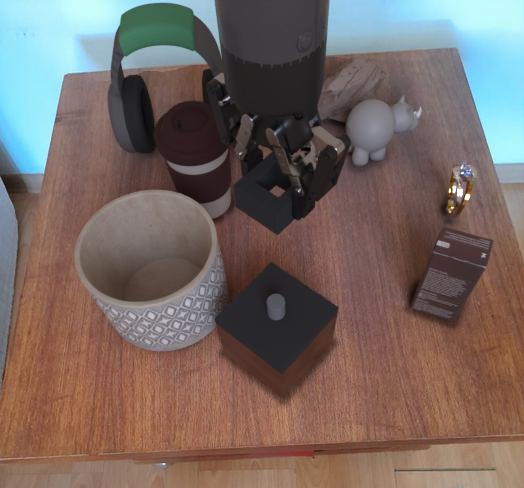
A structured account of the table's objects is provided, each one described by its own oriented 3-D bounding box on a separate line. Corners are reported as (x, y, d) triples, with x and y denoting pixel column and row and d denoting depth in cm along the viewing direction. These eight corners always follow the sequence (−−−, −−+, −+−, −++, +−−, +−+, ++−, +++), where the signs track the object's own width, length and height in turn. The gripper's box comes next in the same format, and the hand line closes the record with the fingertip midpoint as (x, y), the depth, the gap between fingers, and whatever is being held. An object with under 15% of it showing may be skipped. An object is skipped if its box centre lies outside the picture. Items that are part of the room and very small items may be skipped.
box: (461, 296, 65) (496, 239, 54) (452, 323, 63) (486, 270, 52) (417, 281, 66) (442, 223, 55) (407, 308, 65) (431, 253, 54)
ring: (438, 190, 73) (455, 147, 66) (460, 193, 72) (479, 150, 65) (436, 227, 70) (453, 186, 63) (459, 230, 70) (478, 189, 62)
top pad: (277, 170, 51) (276, 147, 48) (319, 196, 49) (321, 173, 46) (235, 207, 49) (232, 185, 46) (277, 235, 47) (277, 214, 44)
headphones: (240, 113, 82) (226, -18, 64) (242, 161, 77) (228, 34, 59) (129, 122, 82) (84, -6, 64) (124, 170, 78) (74, 47, 60)
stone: (386, 95, 82) (351, 43, 78) (409, 91, 75) (372, 33, 70) (320, 159, 85) (283, 112, 81) (336, 162, 77) (296, 110, 73)
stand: (273, 301, 66) (271, 266, 59) (332, 342, 63) (338, 312, 56) (223, 352, 63) (215, 323, 56) (283, 399, 60) (282, 374, 53)
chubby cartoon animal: (424, 154, 76) (439, 106, 68) (352, 174, 75) (359, 128, 67) (404, 124, 79) (417, 74, 71) (335, 142, 78) (340, 95, 70)
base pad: (271, 266, 59) (270, 248, 55) (338, 312, 56) (341, 295, 52) (215, 323, 56) (210, 307, 53) (282, 374, 53) (281, 360, 49)
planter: (244, 266, 69) (236, 203, 57) (206, 369, 62) (187, 321, 51) (138, 242, 71) (109, 178, 60) (91, 339, 65) (48, 287, 53)
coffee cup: (251, 188, 75) (242, 102, 61) (222, 236, 71) (206, 156, 58) (194, 170, 77) (174, 83, 63) (163, 216, 73) (135, 134, 60)
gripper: (392, 36, 32) (358, 211, 47) (233, -37, 37) (249, 144, 52) (320, 98, 30) (309, 260, 45) (161, 11, 34) (200, 186, 50)
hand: (277, 198), depth 48 cm, fingers closed on top pad, 5 cm apart
